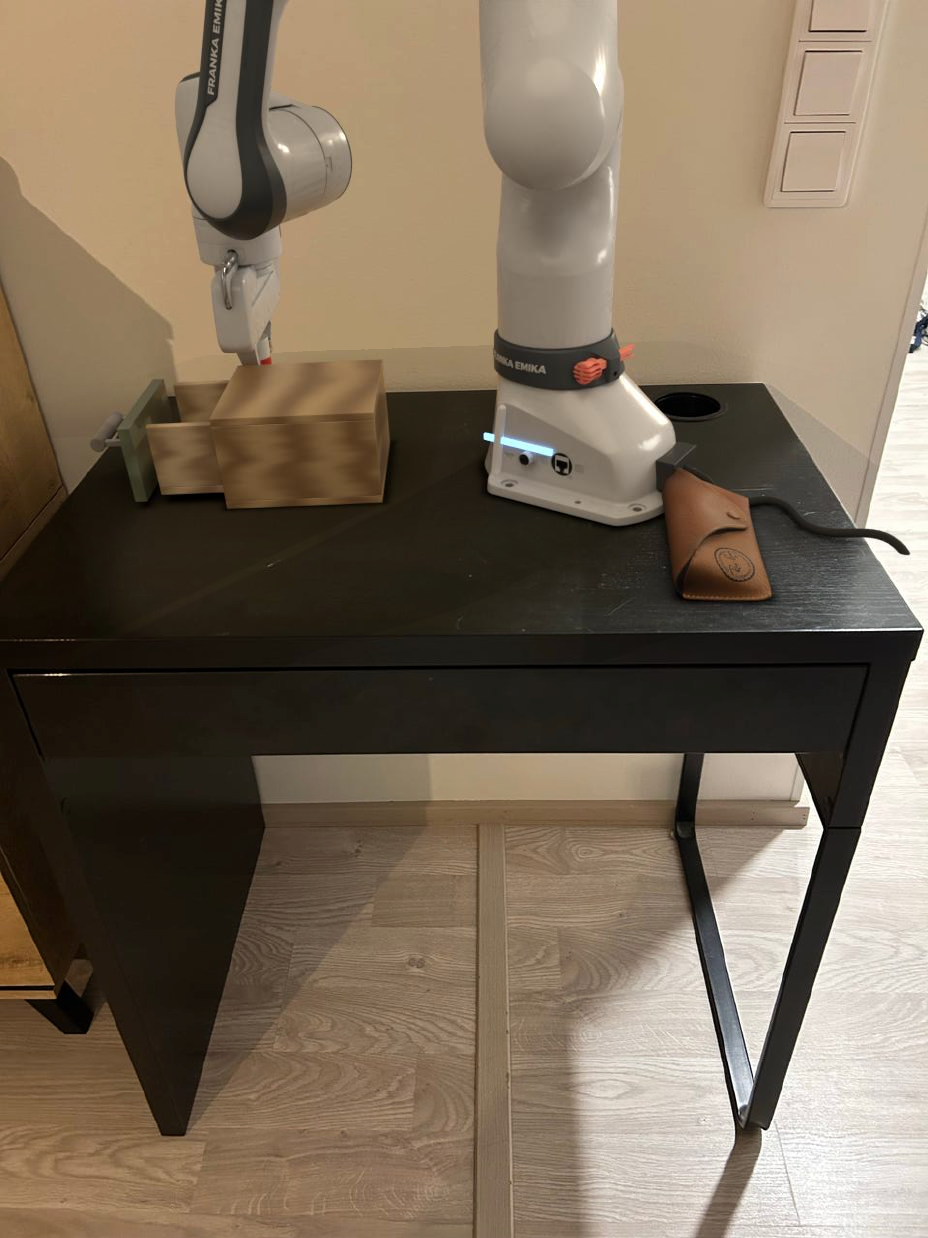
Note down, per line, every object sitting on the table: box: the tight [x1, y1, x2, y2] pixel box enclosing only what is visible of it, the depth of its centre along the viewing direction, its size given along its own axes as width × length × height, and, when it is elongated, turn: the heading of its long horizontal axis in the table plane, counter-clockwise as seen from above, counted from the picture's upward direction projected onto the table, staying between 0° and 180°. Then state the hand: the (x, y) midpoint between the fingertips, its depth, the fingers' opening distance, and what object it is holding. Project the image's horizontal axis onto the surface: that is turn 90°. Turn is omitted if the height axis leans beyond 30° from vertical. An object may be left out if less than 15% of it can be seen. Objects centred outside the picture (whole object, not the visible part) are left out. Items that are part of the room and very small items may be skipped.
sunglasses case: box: [661, 468, 773, 603], centre depth 85 cm, size 18×7×7 cm
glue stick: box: [257, 334, 273, 365], centre depth 111 cm, size 3×3×10 cm
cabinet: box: [209, 358, 391, 510], centre depth 99 cm, size 16×15×10 cm
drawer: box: [89, 378, 230, 503], centre depth 99 cm, size 19×13×8 cm
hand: (259, 365), depth 110 cm, fingers open, 6 cm apart
